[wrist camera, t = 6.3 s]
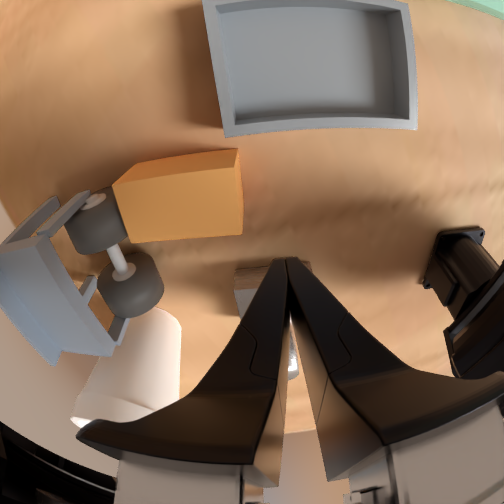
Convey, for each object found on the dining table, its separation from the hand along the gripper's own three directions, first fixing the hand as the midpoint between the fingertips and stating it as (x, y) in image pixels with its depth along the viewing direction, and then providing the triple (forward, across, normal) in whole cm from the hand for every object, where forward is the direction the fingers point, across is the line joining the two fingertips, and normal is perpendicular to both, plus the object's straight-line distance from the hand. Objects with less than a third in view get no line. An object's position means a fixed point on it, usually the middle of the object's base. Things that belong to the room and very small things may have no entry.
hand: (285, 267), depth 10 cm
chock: (+10, +5, 0) cm, 11 cm away
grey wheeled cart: (+9, +14, +3) cm, 17 cm away
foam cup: (+10, +14, +14) cm, 22 cm away
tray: (+9, -3, -7) cm, 12 cm away
